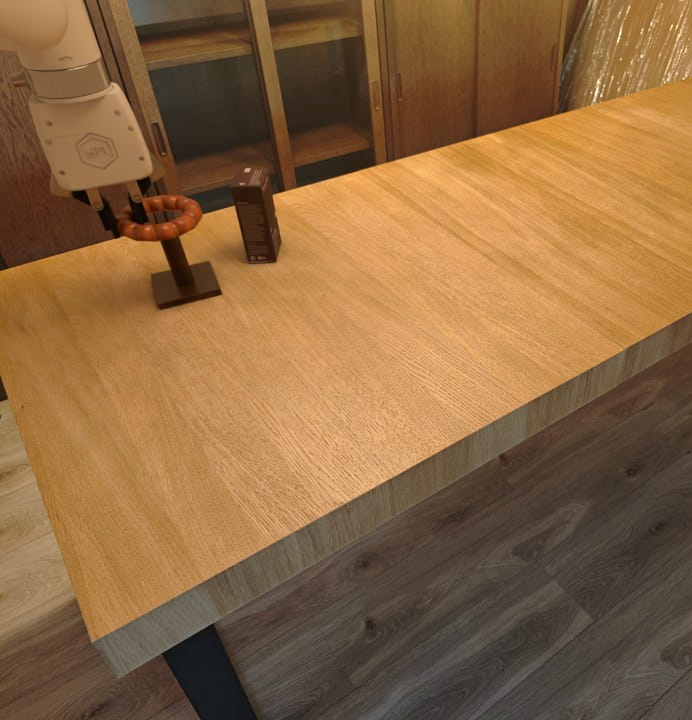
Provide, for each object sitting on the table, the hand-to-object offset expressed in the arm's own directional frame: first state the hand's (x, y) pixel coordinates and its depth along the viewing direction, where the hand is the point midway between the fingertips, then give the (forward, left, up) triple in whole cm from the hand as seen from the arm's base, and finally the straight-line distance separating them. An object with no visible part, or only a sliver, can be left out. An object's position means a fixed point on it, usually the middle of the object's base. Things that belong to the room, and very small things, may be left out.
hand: (129, 229), depth 81 cm
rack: (+4, 0, -10) cm, 11 cm away
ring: (+4, 0, +1) cm, 4 cm away
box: (+16, +4, -10) cm, 19 cm away
